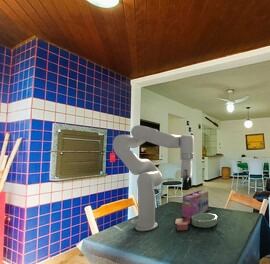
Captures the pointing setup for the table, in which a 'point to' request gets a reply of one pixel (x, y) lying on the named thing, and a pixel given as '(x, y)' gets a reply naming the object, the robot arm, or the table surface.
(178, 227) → the eraser
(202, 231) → the table surface
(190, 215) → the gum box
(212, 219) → the bowl
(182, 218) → the coaster
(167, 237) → the table surface
